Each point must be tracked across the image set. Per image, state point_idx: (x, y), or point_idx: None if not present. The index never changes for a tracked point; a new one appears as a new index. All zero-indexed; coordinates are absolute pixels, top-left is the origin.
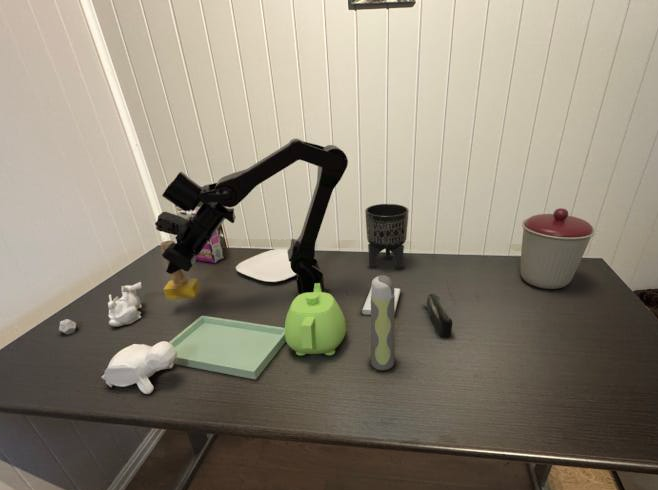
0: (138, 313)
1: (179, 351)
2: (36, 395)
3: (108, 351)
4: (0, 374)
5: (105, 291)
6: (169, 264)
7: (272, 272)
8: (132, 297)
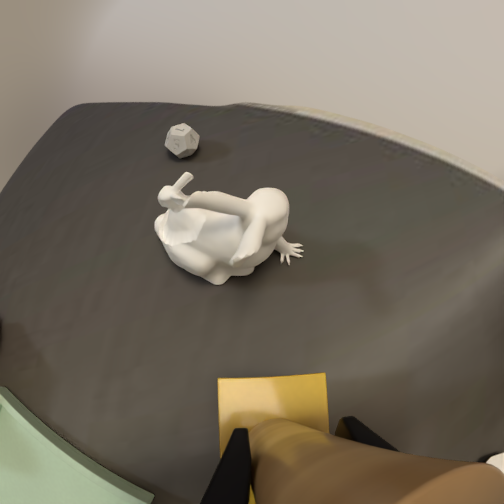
0: (233, 271)
1: (17, 434)
2: (5, 202)
3: (66, 261)
4: (83, 129)
5: (367, 154)
6: (205, 497)
7: None
8: (232, 241)
